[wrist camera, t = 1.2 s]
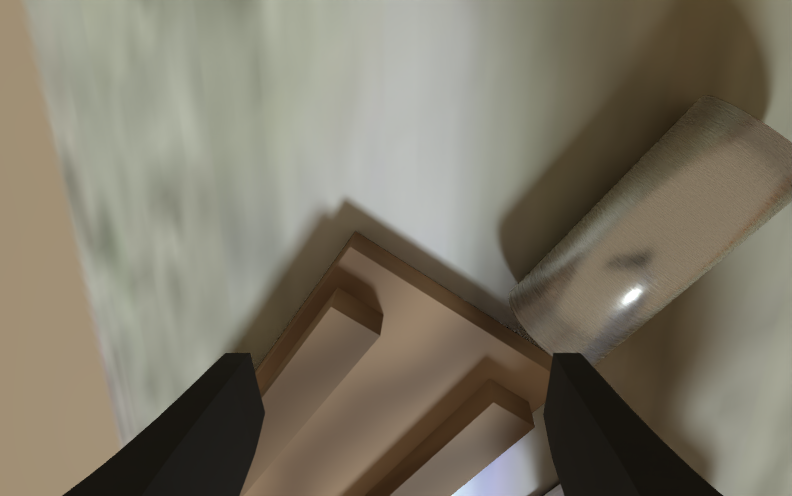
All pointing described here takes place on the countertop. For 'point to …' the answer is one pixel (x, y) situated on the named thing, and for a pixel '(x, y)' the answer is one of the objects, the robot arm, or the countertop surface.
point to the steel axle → (657, 230)
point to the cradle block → (389, 387)
